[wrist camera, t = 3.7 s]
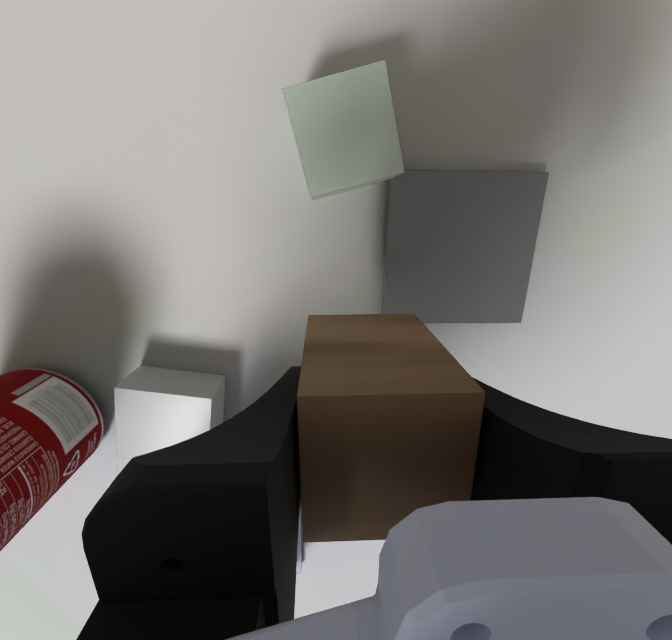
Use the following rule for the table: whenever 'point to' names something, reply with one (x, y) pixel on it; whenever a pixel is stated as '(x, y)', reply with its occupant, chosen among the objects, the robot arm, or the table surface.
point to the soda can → (41, 441)
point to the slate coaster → (461, 244)
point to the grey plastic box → (164, 409)
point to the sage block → (345, 130)
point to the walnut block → (381, 425)
